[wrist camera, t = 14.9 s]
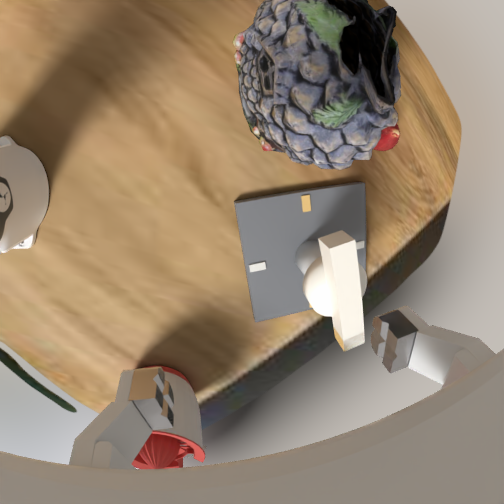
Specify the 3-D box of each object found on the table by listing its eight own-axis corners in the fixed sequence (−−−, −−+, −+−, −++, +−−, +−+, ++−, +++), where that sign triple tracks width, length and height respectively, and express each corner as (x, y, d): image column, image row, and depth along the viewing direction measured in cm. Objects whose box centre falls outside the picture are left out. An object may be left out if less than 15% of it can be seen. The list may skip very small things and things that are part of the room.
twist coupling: (290, 237, 34) (306, 256, 29) (350, 217, 35) (374, 232, 29) (312, 332, 40) (326, 358, 35) (362, 312, 41) (380, 335, 35)
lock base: (253, 317, 49) (265, 353, 41) (233, 201, 41) (243, 219, 33) (360, 290, 51) (386, 318, 43) (360, 181, 43) (394, 194, 35)
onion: (350, 146, 41) (378, 150, 34) (351, 110, 39) (380, 107, 32) (381, 150, 42) (411, 156, 35) (382, 116, 40) (413, 116, 33)
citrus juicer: (176, 418, 57) (178, 495, 39) (109, 383, 50) (93, 464, 32) (222, 385, 55) (235, 471, 36) (151, 342, 48) (138, 436, 30)
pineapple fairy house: (210, 35, 32) (228, -73, 9) (311, 21, 33) (412, -53, 10) (247, 171, 40) (312, 220, 17) (343, 148, 41) (472, 175, 18)
